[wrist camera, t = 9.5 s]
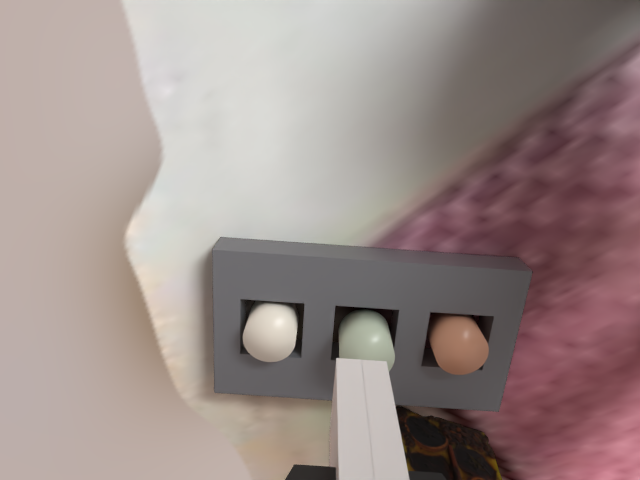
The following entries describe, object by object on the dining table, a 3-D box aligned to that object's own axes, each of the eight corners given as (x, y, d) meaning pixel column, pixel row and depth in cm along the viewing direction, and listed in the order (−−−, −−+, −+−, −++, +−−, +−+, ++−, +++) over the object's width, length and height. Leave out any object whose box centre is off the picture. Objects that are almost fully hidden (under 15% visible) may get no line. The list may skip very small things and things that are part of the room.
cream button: (250, 292, 42) (242, 314, 38) (300, 295, 42) (296, 317, 38) (250, 335, 43) (242, 360, 39) (297, 338, 43) (294, 363, 40)
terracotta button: (429, 304, 42) (439, 327, 38) (478, 307, 42) (493, 331, 38) (422, 346, 43) (431, 372, 40) (470, 350, 43) (483, 376, 40)
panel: (220, 237, 41) (212, 249, 38) (518, 257, 41) (532, 271, 38) (221, 372, 45) (214, 392, 43) (488, 390, 46) (498, 411, 43)
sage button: (340, 307, 40) (341, 331, 36) (391, 310, 40) (398, 335, 36) (336, 351, 42) (337, 379, 38) (386, 354, 42) (391, 382, 38)
